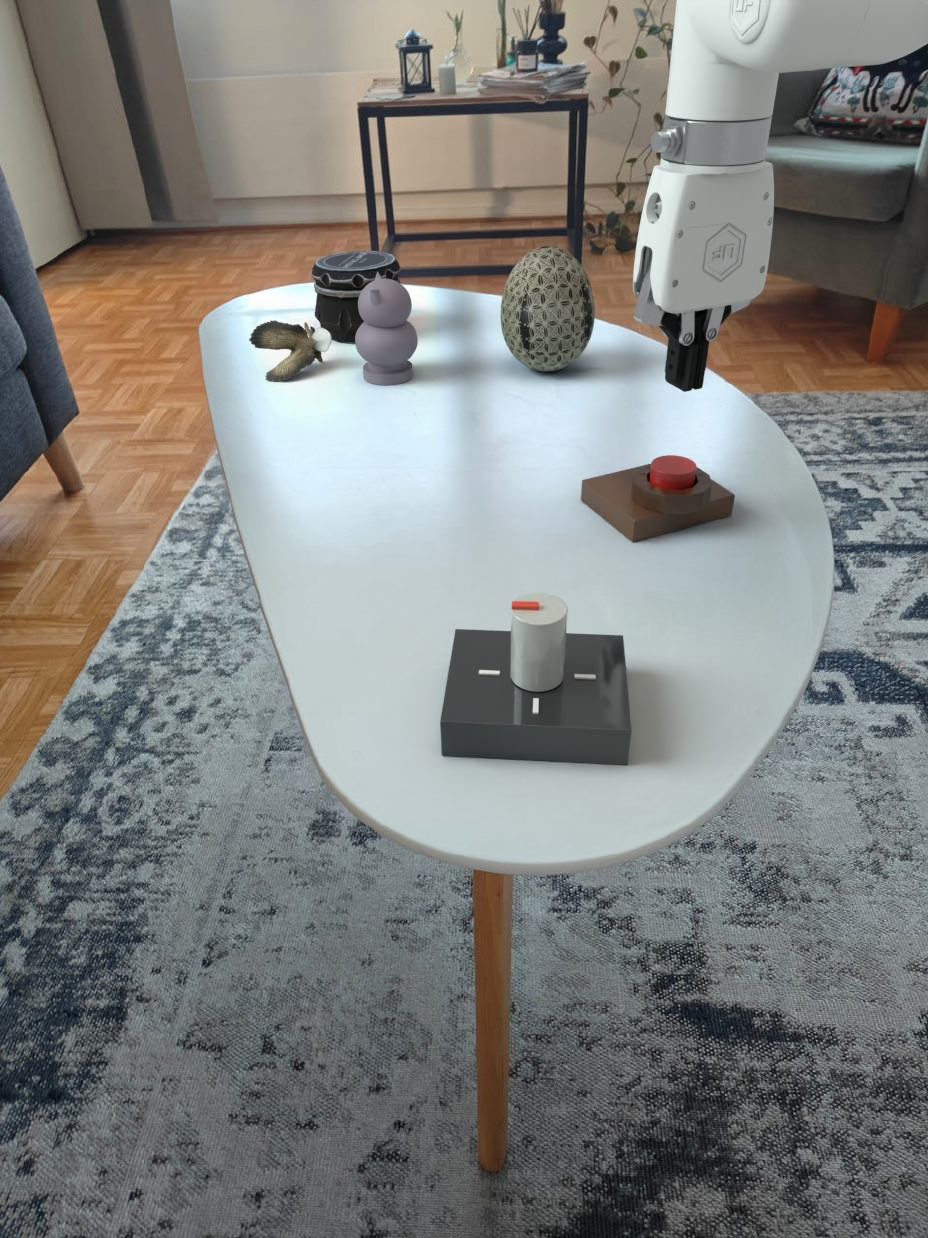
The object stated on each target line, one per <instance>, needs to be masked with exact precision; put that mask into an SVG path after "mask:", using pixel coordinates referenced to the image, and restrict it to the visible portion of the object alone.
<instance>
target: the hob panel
mask: <svg viewBox="0 0 928 1238" xmlns="http://www.w3.org/2000/svg"><path fill="white" fill-rule="evenodd" d="M624 639H625V638H624V634H623V635H622V634H597V633H596V634H595V633H573V632H572V633H569V632H566V649H565V666H564V678H563V681H562V682H561V683H560V685H558V686H557V687H556V688H554V689H551V690H548V691H543V692H533V691H528V690H525V689H522V688H520V687H518V686H517V685H516V684H515V683H514V682H513V681H512V679H511V676H510V650H511V630H492V629H489V630H488V629H464V628H455V630H454V636H453V641H452V647H451V653H450V660H449V665H448V672H447V678H446V682H445V683H446V684H445V689H444V696H443V702H442V707H441V713H440V720H439V727H440V729H439V730H440V748H441V749H440V750H441V751H440V753H441V756H443V757H459V758H460V757H461V758H465V757H466V758H479V759H480V758H482V759H498V760H499V759H501V760H519V761H520V760H521V761H538V762H539V761H540V762H541V761H542V762H543V761H544V762H558V763H559V762H562V763H581V764H582V763H583V764H599V765H601V764H602V765H620V766H621V765H622V766H628V764H629V757H630V748H631V740H632V732H633V731H632V717H631V707H630V695H629V685H628V675H627V663H626V653H625V642H624Z"/></svg>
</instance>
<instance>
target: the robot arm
mask: <svg viewBox="0 0 928 1238" xmlns="http://www.w3.org/2000/svg"><path fill="white" fill-rule="evenodd" d="M673 24H674V25H673V32H672V42H671V43H672V44H671V53H670V61H669V73H668V82H667V83H668V84H667V92H666V103H665V111H664V112H665V113H664V114H665V115H664V119H663V128H662V130H660V131H659V130H658V131H655V132H653V133H652V135H651V138H650V147H651V151H653V152H654V153H660V164H656V165H654V166H653V169H652V173H651V176H650V179H649V182H648V186H647V190H646V194H645V198H644V202H643V206H642V211H641V217H640V222H639V227H638V233H637V239H636V246H635V252H634V253H635V254H634V263H633V275H632V278H633V279H632V290H633V295H634V297H635V298H637V301H636V304H635V307H634V311H633V315H632V317H633V319H634V320H635V321H637V323H640V324H643V325H646V326H652V327H659V329H660V330H661V331H662V335H663V336H664V337H667V338H668V341H667V348H666V358H665V365H664V366H665V367H664V380H665V383H667V384H670V385H671V386H673V387H675V388H677V389H678V390H680V391H682V392H684V393H686V392H691V391H692V390H695V391H696V390H701V389H703V386H704V380H705V373H706V369H707V362H708V353H709V347H710V342H713V341H714V340H716V339H717V337H718V335H719V331H720V328H721V326H722V324H723V323H724V322H725V321H726V319H728V317H729V316H730V315H731V314H734V313H737V312H738V311H740V310H742V309H745V308H747V307H748V306H749V305H750V303H751V302H752V300H754V299H756V298H757V297H758V296H760V295H761V294H762V293H763V290H764V288H765V284H766V280H767V275H768V270H769V263H770V255H771V246H772V237H773V227H774V213H775V211H774V210H775V177H774V165H773V163H772V162H769V161H766V157H767V152H768V151H767V150H768V145H769V137H770V131H771V127H772V119H773V113H774V107H775V101H776V95H777V89H778V82H779V77H780V76H779V75H780V74H783V73H795V72H808V71H809V72H811V71H812V72H813V71H817V70H823V69H838V68H849V67H850V68H851V67H865V66H877V65H884V64H887V63H890V62H893V61H896V60H898V59H901V58H904V57H906V56H908V55H910V54H911V53H914V52H915V51H919V49H921V48H922V47H924V46H926V45H927V44H928V0H676V2H675V12H674V23H673Z"/></svg>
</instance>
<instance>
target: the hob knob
mask: <svg viewBox="0 0 928 1238" xmlns="http://www.w3.org/2000/svg"><path fill="white" fill-rule="evenodd" d="M568 610H569V608H568V606H567V604H566V602H565V601H564V600H563V599H562V598H561V597H559V596H558V595H557V596H556V595H554V594H551V593H546V592H530V593H525V594H523V595H520V596H518V597H517V598H515V600H512V601H511V607H510V631H511V650H510V676H511V679H512V681H513V682H514V683H515V684H516V685H517V686H518V687H520V688H522V689H525V690H528V691H533V692H543V691H548V690H551V689H554V688H556V687H557V686H558V685H560V683H561V682H562V681H563V678H564V666H565V649H566V633H567V631H568V630H567V629H568V615H569V613H568Z"/></svg>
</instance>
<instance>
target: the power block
mask: <svg viewBox="0 0 928 1238" xmlns="http://www.w3.org/2000/svg"><path fill="white" fill-rule="evenodd" d="M650 470H651V463H647V464H643V465H640V466H634V467H631V468H627V469H626V468H625V469H622V470H618V471H613V472H610V473H605V474H602V475H597V476H593V477H589V478H585V479H584V478H583V479H582V480H581V490H580V501H581V502H583V503H584V504H585V505H586V506H587V507H588V508H589V509H591V510H592V511H594V512H595V513H596V514H597V515H598V516H599V517H601V518H602V519H604V521H606V522H607V523H608V524H610V525H611V526H612V527H613V528H614V529H615V530H617V531H618V532H619V533H621V534H622V535H623V536H624V537H625V538H626V539H628V540H629V541H630V542H632V543H635V542H638V541H642V540H647V539H650V538H654V537H657V536H660V535H661V536H662V535H665V534H668V533H672V532H676V531H679V530H683V529H687V528H690V527H691V528H692V527H694V526H697V525H701V524H705V523H709V522H712V521H716V520H719V519H725V518H727V517H730V516H732V515H733V511H734V504H735V499H736V494H735V493H733V492H732V491H730V490H728V489H727V488H726V487H724V486H723V485H721V484H719V483H718V482H716V481H715V480H713V479H711V475H710V474H709V473H707V472H705V470H703V469H701V468H699V467H698V466H697V468H696V475H695V482H694V486H693V487H692V488H688V489H684V490H667V489H663V488H659V487H655V486H654V485H652V484H651V483H650V480H649V479H650Z"/></svg>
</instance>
